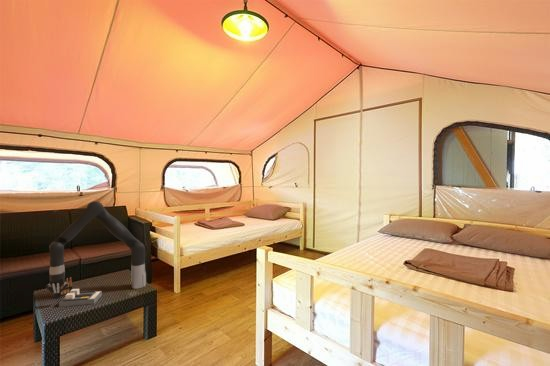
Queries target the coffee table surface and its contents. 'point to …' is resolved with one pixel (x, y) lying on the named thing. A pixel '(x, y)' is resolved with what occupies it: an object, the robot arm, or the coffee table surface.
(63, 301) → the switch panel
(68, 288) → the ammunition clip
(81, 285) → the coffee table surface
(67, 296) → the switch
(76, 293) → the switch
